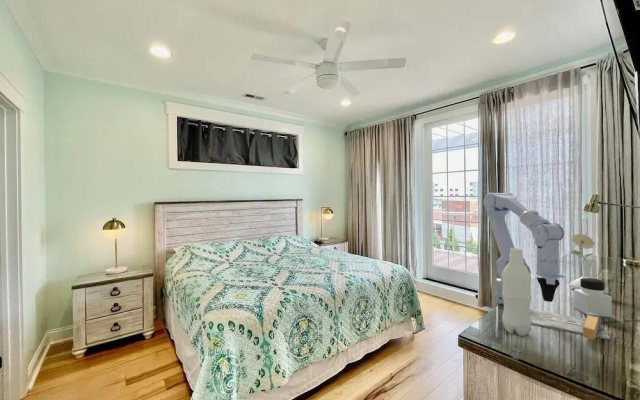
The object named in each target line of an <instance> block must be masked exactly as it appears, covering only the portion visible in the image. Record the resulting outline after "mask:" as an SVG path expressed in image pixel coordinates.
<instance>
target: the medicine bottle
mask: <svg viewBox="0 0 640 400" xmlns="http://www.w3.org/2000/svg"><path fill="white" fill-rule="evenodd" d="M580 288H581V289H574V288H573V308H574V309H575V310H577V311H578V312H581V313H582V314H584V315H586V313H587V312H592V313H597V314H599V315H601V316H602V317H601V318H612V317H613V297H612V296H610V295H608V294H606V293H605V292H604V288H605V282H604V281H603V280H601V279H598V278H594V277H592V278H581V279H580Z"/></svg>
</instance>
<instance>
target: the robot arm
mask: <svg viewBox="0 0 640 400" xmlns="http://www.w3.org/2000/svg"><path fill="white" fill-rule="evenodd" d="M482 203H483V207H484V209H485V212H486V214H487V217H488V220H489V224H490V227H491V229H492V234H493V235H494V239H495V242H496V244H497V248H498V251H499V254H500V256H499V258H498V259H497V260H496V261H495V263H496V272H497V275H498V277H499V278H496V288H495V289H496V291H495V298H496V300H495V301H496V304H501V303H502V304H501V305H504V303H503V302H504V300H503V296H502V291H503V276H502V273H503V270H504V269H505V267H506V266H507V264H508V263H509V261H510V257H509V255H510V249H511V248H515V245H514V242H513V240H512V236H511V234H510V230H509V228H508V225H507V222H506V220H505V216H506V215H508V214H509V213H510V211H511V212H512V213H513V214H515V215H516V216H517V217H519V221H520V223H521V224H523V225H524V226H525V227H526V228H527V229H529V230H530V232H531V234H532V238H533V239H534V244H535V246H536V271H535V272H536V273H535V275H537V276H538V277H536V281H537V282H538V283H539V287H540V290H541V295H542V299H543V302H547V303H548V302H549V303H552V302H553V301H554V297H555V294H556V290H557V289H558V287H559V286H560V283H561V282H560V280H559V279H560V278H562V279H563V278H565V275H564V274H563V273H560V241H561V240H563V239H564V236H565V231H564V228H563V227H562V226H561V224H559V223H556V222H555V223H554V222H553V223H552V222H550V221H549V220H548V219H547V218H544V216H542V215H540V214H539V212H538V211H537V210H528V209H527V208H526V207H525V206H524V205H523V204H522V203H521V202H519V201H518V200H517V196H516V195H514V194H513V193H512V192H487V193H486V194H485V196H484V198H483V202H482ZM523 262H524V264H525V266H526V268H527V269H528V271H529V273H530V275H531V276H532V271H531V268H530V266H529V265H528V264H527V263H526V259H525V257H524V258H523Z"/></svg>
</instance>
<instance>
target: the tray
mask: <svg viewBox="0 0 640 400" xmlns="http://www.w3.org/2000/svg"><path fill="white" fill-rule="evenodd" d="M529 311H530V319H531V326H538V327H542V328H543V327H544V328H548V329H552V330H553V329H554V330H558V331H562V332H568V333H572V334H577V335H582V336H583V327H584V324H585V322H586V318H585V317H579V316H574V315H569V314H563V313H556V312H551V311H545V310H539V309H533V308H530V309H529ZM595 338H597V339H604V340H608V341H610V340H611V337H610V336H609V334H608V333H607V332H606V331H605V327H604V326H602V325H601V327H598V329H597V333H596V336H595Z"/></svg>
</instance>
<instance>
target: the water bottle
mask: <svg viewBox="0 0 640 400" xmlns="http://www.w3.org/2000/svg"><path fill="white" fill-rule="evenodd" d="M509 257H510V261H509V263H508V264H507V266H506V267H505V269H504V270H503V273H502V276H503V291H502V296H503V300H504V304H503V312H502V315H501V320H502V324H503V327H504V329H505V330H506V332H507V333H509V334H513V333H514V331H515V333H516V334H517V336H519V337H524V336H526V335H529V334H530V333H531V331H532V324H531V319H530V311H529V309H531V307H530V306H531V301H532V290H531V289H532V287H531V286H532V283H531V282H532V274H531V275H530V273H529V271H528V269H527V268H526V266H525V264H524V262H523V258H524V259H525V256H524V254H523V249H521V248H515V247H514V248H511V249H510V255H509Z"/></svg>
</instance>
